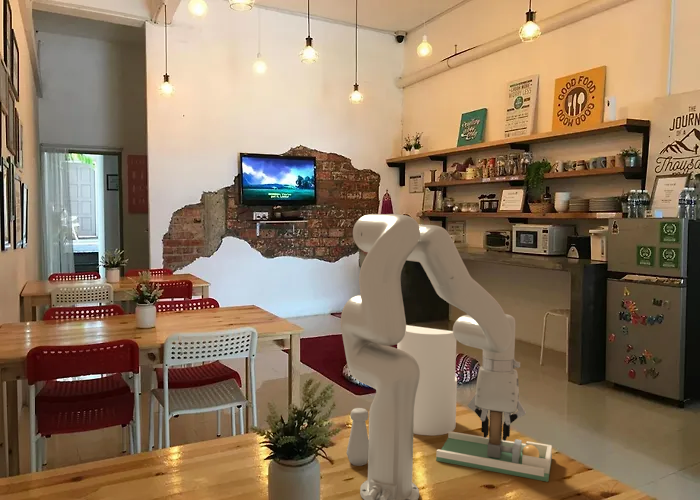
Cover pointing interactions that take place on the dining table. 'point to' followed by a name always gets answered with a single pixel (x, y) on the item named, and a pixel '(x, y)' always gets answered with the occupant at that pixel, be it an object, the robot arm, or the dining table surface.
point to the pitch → (474, 455)
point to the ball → (530, 451)
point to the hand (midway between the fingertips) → (495, 436)
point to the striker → (500, 439)
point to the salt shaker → (358, 438)
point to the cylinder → (433, 378)
